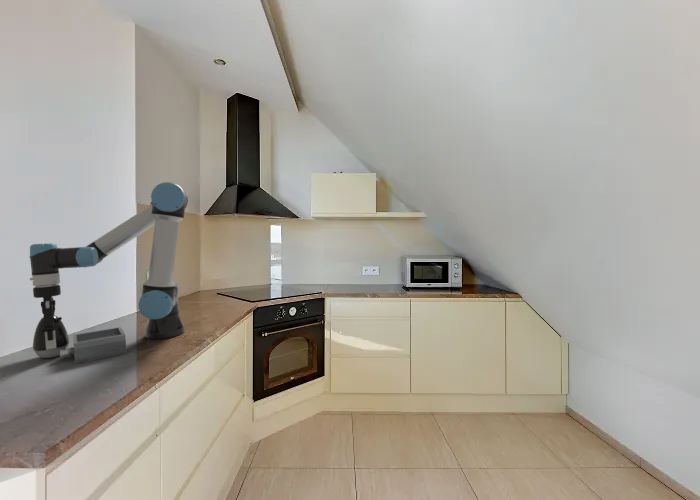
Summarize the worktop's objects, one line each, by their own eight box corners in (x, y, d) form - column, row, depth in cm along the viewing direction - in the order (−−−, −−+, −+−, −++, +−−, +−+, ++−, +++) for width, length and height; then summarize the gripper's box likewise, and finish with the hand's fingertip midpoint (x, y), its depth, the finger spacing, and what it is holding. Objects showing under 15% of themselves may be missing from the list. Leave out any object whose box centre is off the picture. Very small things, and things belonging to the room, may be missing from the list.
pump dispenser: (49, 361, 121) (45, 318, 121) (26, 360, 123) (22, 318, 123) (77, 351, 131) (74, 311, 131) (55, 350, 133) (52, 311, 133)
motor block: (121, 344, 140) (120, 327, 139) (126, 353, 128) (125, 334, 128) (60, 355, 128) (59, 337, 127) (59, 366, 116) (58, 346, 116)
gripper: (35, 284, 133) (40, 341, 134) (30, 290, 115) (36, 355, 116) (60, 281, 137) (65, 336, 138) (59, 287, 120) (64, 350, 121)
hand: (51, 345), depth 127 cm, fingers closed on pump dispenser, 10 cm apart
